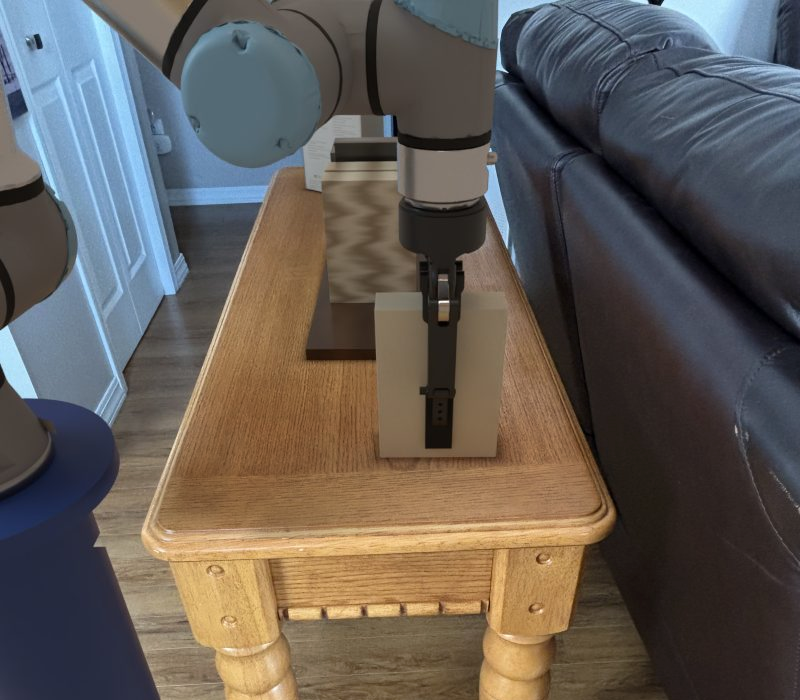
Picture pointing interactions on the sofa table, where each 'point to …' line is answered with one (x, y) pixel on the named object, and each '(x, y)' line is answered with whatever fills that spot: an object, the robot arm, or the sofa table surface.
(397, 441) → the cream box
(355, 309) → the beige block on plinth
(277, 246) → the sofa table surface
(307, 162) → the hard drive box
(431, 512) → the sofa table surface
